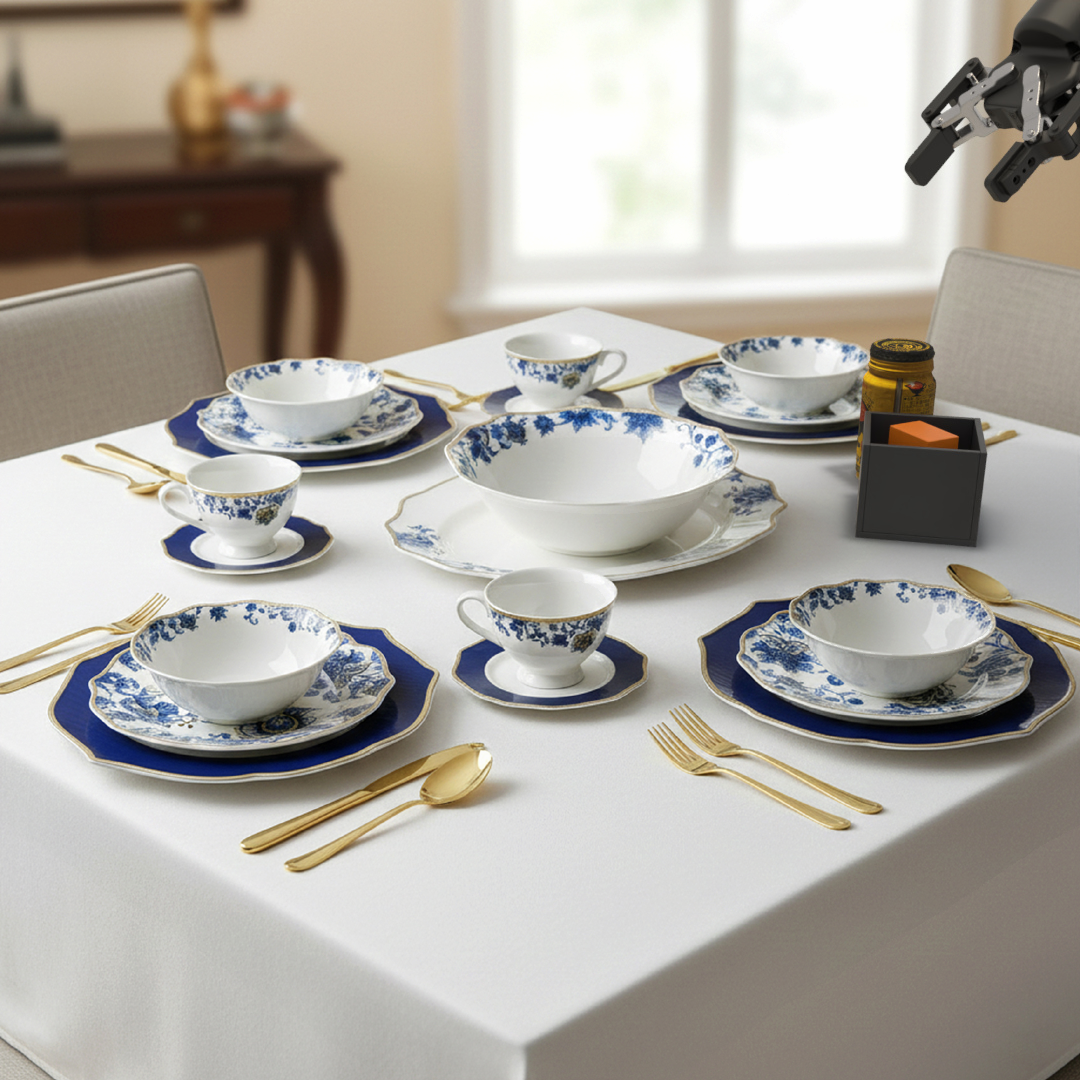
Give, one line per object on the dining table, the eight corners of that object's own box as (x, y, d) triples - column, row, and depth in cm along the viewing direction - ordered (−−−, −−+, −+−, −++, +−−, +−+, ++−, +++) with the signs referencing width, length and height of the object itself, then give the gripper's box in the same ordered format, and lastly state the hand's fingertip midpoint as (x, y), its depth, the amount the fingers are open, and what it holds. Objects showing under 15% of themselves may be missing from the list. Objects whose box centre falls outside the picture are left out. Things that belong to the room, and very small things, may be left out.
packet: (911, 502, 119) (919, 420, 116) (949, 521, 115) (959, 436, 112) (881, 508, 117) (889, 425, 115) (919, 527, 114) (928, 441, 111)
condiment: (835, 472, 128) (846, 337, 123) (919, 462, 130) (932, 329, 126) (879, 499, 122) (892, 359, 117) (966, 488, 124) (982, 350, 120)
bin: (969, 509, 120) (980, 418, 117) (975, 550, 111) (987, 453, 108) (856, 500, 121) (865, 410, 118) (854, 540, 113) (863, 444, 110)
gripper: (1001, -29, 108) (862, 139, 108) (1152, -27, 96) (996, 161, 96) (1046, 45, 112) (913, 207, 112) (1197, 56, 100) (1047, 237, 100)
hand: (951, 186), depth 104 cm, fingers open, 8 cm apart
